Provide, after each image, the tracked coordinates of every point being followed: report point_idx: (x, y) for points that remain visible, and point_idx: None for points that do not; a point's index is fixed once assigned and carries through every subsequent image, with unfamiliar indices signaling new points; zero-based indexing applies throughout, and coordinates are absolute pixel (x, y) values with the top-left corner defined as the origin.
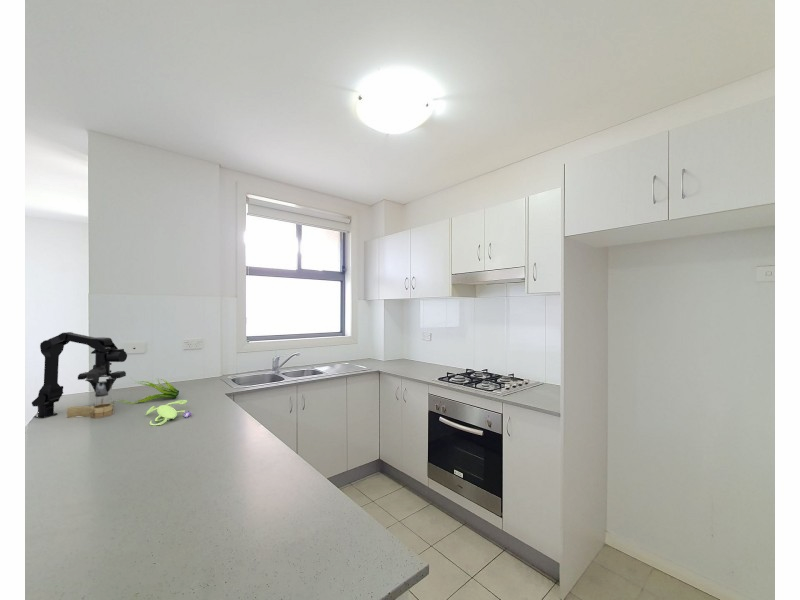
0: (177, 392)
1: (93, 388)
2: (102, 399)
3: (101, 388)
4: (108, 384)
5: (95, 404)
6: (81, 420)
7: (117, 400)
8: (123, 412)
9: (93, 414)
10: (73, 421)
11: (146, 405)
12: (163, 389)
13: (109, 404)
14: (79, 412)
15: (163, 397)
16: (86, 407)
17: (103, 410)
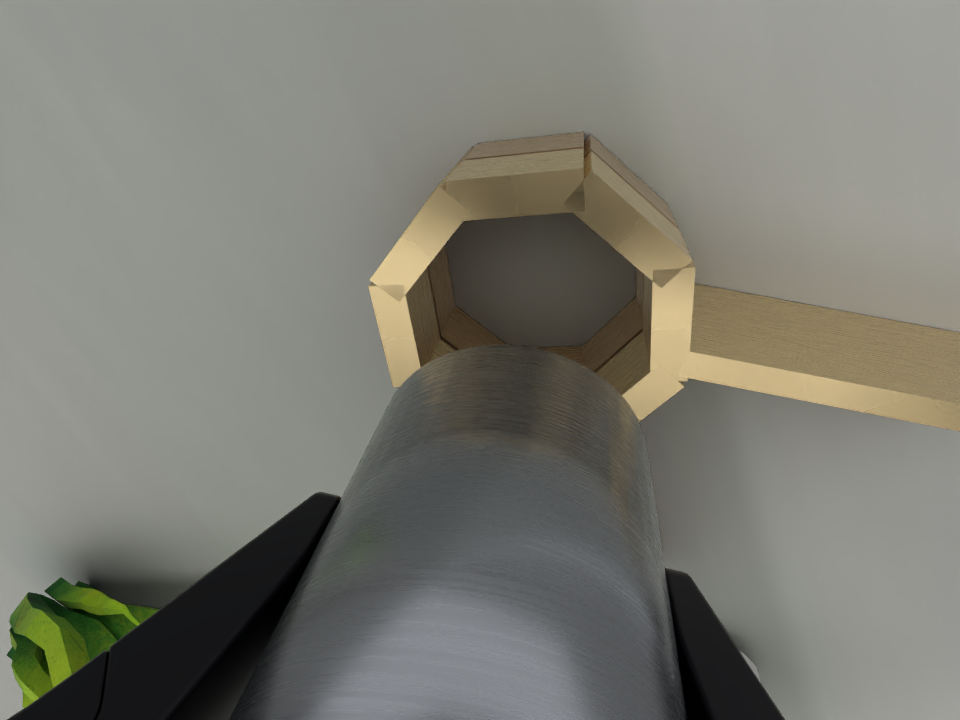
0: (12, 630)
1: (767, 700)
2: None
3: (402, 546)
4: (84, 712)
5: (743, 656)
6: (760, 84)
7: None
8: (321, 301)
9: (613, 167)
10: (877, 66)
11: (218, 478)
12: None
13: None
14: (859, 339)
15: (156, 608)
16: (780, 362)
17: (457, 169)
